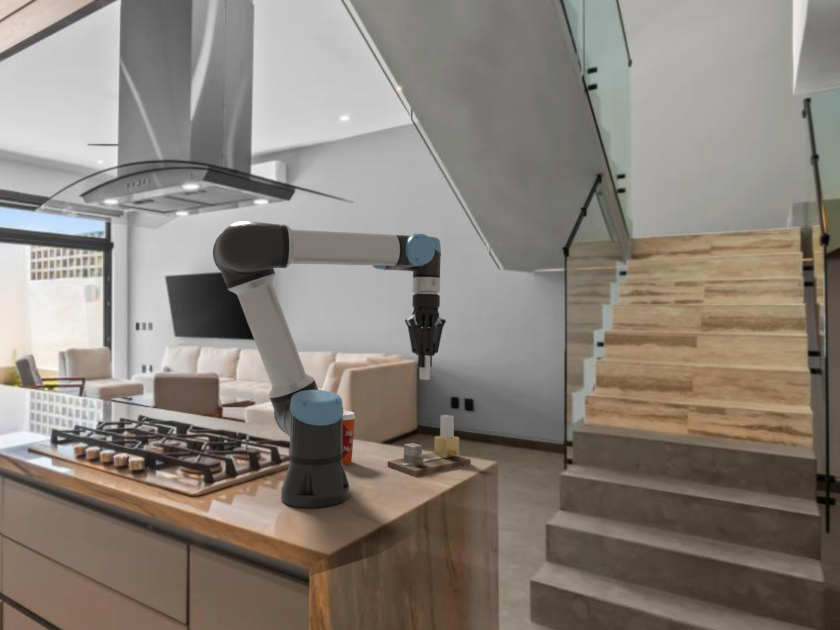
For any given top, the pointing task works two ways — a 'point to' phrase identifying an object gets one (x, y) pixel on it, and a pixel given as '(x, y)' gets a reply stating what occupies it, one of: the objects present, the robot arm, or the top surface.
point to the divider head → (446, 438)
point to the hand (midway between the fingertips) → (424, 379)
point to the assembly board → (424, 461)
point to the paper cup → (347, 437)
